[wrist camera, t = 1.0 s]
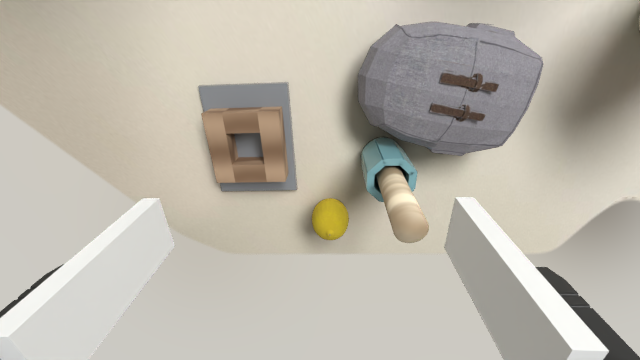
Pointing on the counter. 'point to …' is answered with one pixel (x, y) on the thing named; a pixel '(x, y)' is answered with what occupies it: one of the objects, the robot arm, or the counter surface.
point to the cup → (385, 164)
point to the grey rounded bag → (448, 85)
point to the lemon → (330, 219)
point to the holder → (224, 148)
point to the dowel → (401, 205)
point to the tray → (252, 141)
